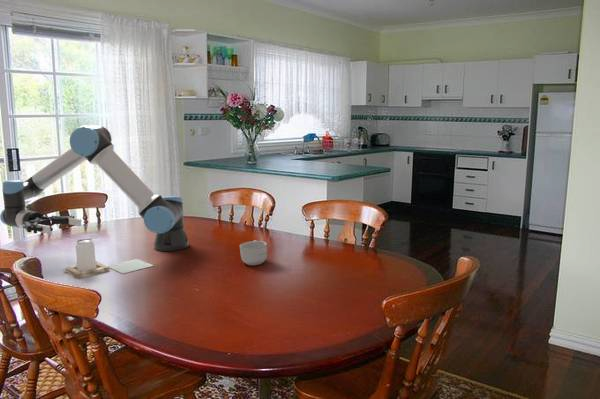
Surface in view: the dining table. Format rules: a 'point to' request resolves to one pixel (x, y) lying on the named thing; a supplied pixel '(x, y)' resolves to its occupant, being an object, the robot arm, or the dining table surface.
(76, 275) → the holder
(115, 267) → the mat
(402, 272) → the dining table surface
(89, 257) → the can
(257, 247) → the teacup
